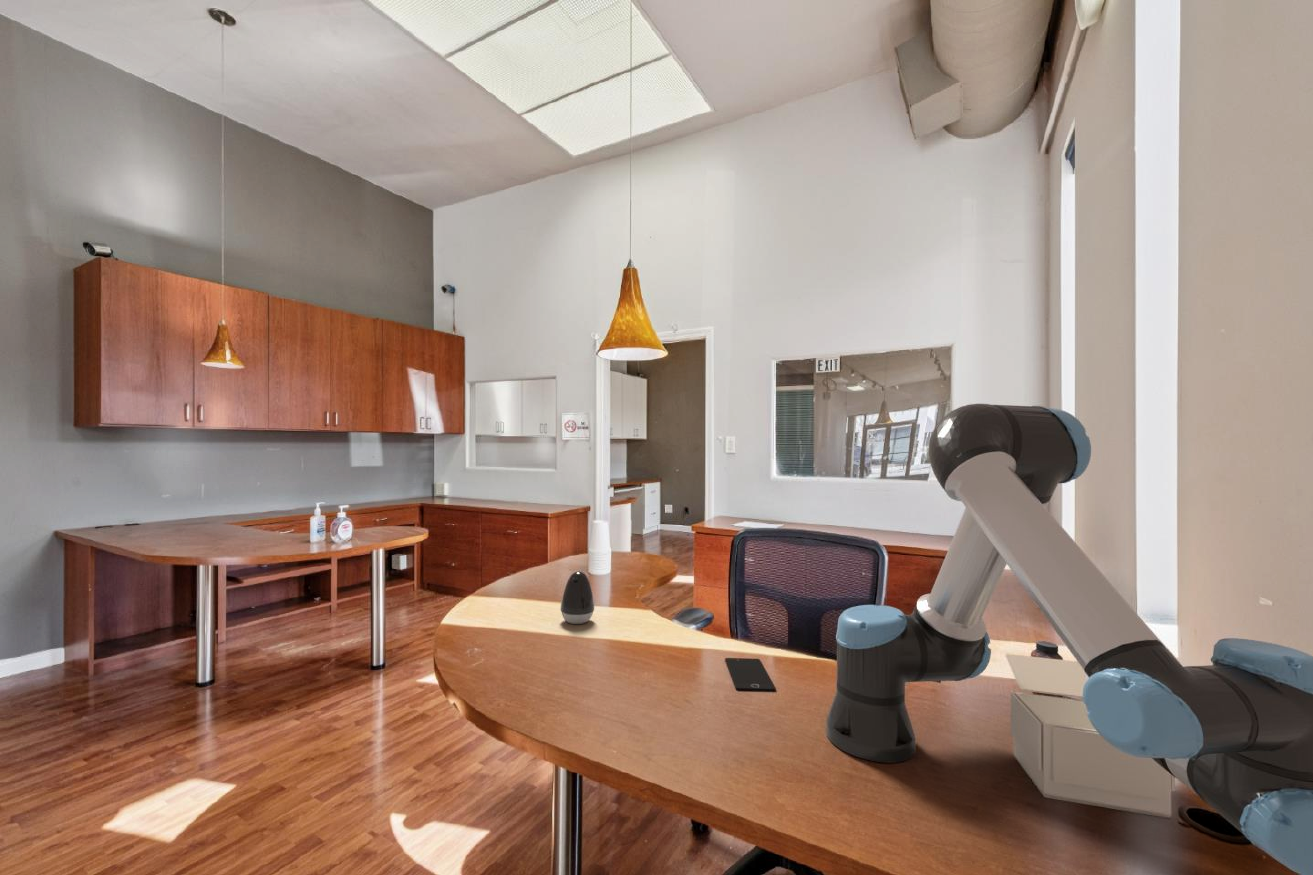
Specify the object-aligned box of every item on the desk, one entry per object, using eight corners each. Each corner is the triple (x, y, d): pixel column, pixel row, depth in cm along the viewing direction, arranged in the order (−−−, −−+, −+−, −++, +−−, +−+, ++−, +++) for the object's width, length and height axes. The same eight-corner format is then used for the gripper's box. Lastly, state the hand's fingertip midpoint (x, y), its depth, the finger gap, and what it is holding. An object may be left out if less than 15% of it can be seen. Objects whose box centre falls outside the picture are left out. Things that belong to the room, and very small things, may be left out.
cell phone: (736, 692, 117) (736, 687, 117) (724, 661, 135) (724, 657, 135) (776, 693, 117) (776, 688, 117) (759, 662, 135) (759, 658, 135)
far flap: (1005, 653, 100) (1005, 655, 101) (1020, 688, 93) (1020, 690, 94) (1093, 663, 97) (1092, 664, 97) (1115, 700, 90) (1115, 702, 90)
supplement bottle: (1028, 694, 119) (1028, 642, 119) (1032, 686, 123) (1032, 636, 124) (1061, 703, 115) (1061, 649, 115) (1064, 694, 119) (1064, 643, 120)
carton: (1041, 798, 81) (1041, 725, 82) (1009, 755, 93) (1009, 691, 94) (1179, 822, 77) (1178, 744, 77) (1127, 773, 89) (1127, 705, 89)
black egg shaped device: (554, 625, 158) (556, 574, 158) (566, 615, 168) (568, 567, 169) (588, 628, 156) (589, 576, 157) (597, 618, 166) (599, 569, 167)
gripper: (1133, 778, 63) (1043, 696, 86) (1270, 799, 60) (1140, 707, 83) (1132, 714, 64) (1043, 649, 87) (1269, 731, 61) (1139, 658, 83)
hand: (1090, 677), depth 85 cm, fingers closed
